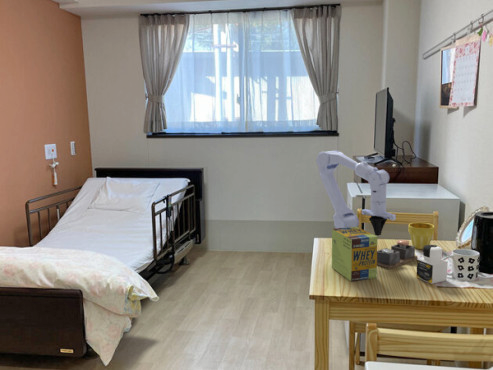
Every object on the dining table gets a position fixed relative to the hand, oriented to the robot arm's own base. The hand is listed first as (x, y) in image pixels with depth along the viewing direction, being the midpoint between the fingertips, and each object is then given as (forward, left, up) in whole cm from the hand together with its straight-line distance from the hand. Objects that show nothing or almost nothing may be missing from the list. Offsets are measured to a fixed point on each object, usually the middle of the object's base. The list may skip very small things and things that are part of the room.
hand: (377, 234), depth 170 cm
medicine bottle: (+19, +16, -11) cm, 27 cm away
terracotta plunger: (-3, +10, -7) cm, 13 cm away
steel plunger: (+4, +3, -9) cm, 11 cm away
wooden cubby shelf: (+1, +7, -10) cm, 12 cm away
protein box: (+15, -11, -11) cm, 21 cm away
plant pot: (-18, +21, -11) cm, 29 cm away
